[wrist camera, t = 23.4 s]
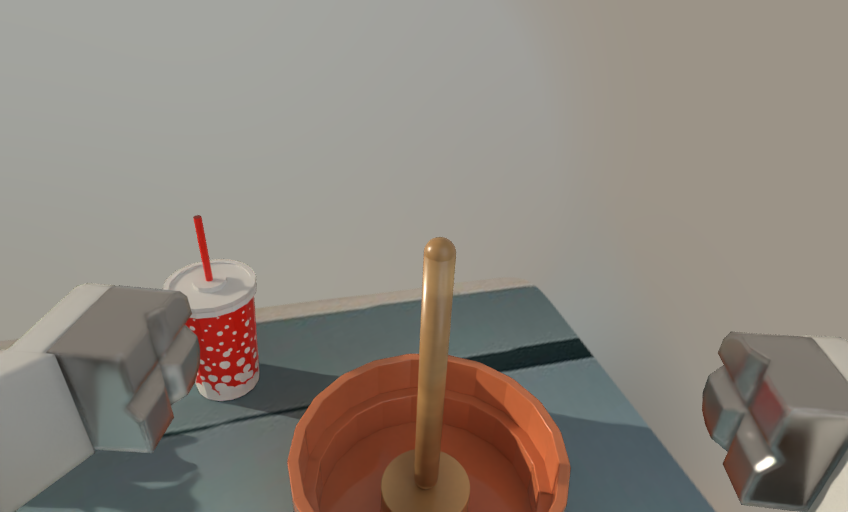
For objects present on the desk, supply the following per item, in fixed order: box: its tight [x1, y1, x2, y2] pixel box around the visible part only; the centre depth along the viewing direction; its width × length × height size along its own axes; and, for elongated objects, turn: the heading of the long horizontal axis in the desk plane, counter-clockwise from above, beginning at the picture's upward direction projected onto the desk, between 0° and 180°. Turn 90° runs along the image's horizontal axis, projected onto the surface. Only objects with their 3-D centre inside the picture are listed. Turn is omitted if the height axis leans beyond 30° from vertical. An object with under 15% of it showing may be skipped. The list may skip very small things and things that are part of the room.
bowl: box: [287, 354, 571, 512], centre depth 33 cm, size 15×15×6 cm
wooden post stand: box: [381, 237, 470, 512], centre depth 29 cm, size 5×5×18 cm
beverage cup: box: [162, 215, 259, 401], centre depth 39 cm, size 6×6×14 cm
